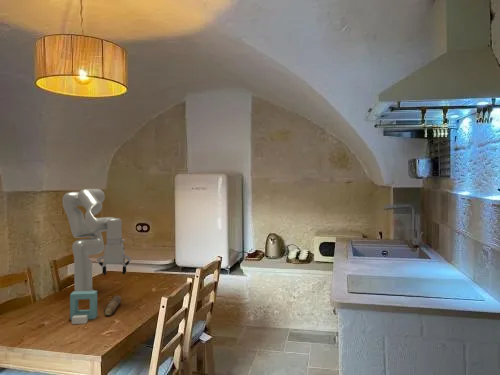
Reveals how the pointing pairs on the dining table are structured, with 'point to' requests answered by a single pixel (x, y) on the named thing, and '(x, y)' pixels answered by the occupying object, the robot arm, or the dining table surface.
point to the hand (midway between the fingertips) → (114, 274)
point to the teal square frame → (83, 295)
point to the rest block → (79, 319)
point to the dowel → (112, 305)
